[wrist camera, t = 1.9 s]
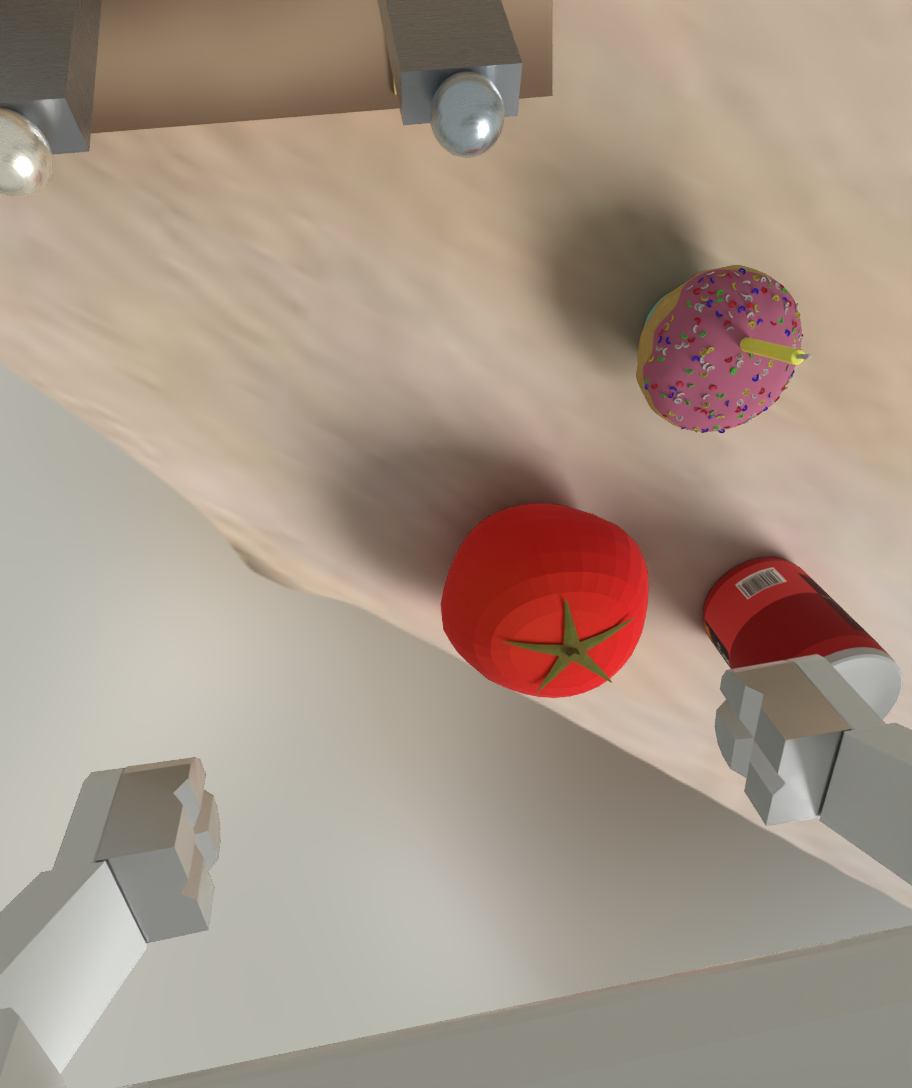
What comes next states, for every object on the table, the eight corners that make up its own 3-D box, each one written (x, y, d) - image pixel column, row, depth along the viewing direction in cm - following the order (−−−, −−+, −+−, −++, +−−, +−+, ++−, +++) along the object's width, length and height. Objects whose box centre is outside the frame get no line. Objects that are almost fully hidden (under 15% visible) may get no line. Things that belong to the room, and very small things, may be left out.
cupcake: (617, 255, 39) (720, 310, 29) (768, 244, 40) (918, 294, 30) (606, 408, 44) (692, 502, 34) (742, 395, 45) (865, 483, 35)
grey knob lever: (463, -44, 28) (530, 168, 23) (367, -38, 28) (413, 179, 22) (465, -117, 26) (539, 97, 21) (362, -112, 26) (410, 107, 20)
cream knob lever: (107, -22, 27) (89, 208, 21) (3, -15, 26) (-42, 220, 21) (81, -97, 25) (54, 136, 19) (-32, -91, 24) (-91, 148, 19)
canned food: (678, 628, 54) (753, 740, 44) (741, 539, 50) (836, 639, 41) (759, 653, 56) (845, 764, 47) (824, 570, 53) (931, 671, 44)
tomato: (587, 628, 52) (642, 737, 43) (418, 617, 50) (439, 731, 41) (637, 486, 47) (710, 578, 38) (450, 464, 44) (482, 557, 35)
